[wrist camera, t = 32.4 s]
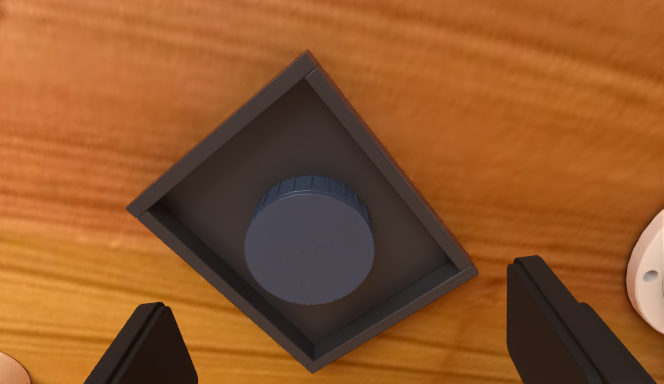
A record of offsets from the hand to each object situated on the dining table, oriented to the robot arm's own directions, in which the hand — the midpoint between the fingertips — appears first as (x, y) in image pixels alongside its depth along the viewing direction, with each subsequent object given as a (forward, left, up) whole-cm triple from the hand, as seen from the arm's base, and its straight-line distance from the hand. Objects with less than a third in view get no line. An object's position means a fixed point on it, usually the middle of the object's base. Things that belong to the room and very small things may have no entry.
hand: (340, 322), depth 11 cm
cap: (-2, +4, -10) cm, 11 cm away
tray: (-2, +4, -13) cm, 13 cm away
